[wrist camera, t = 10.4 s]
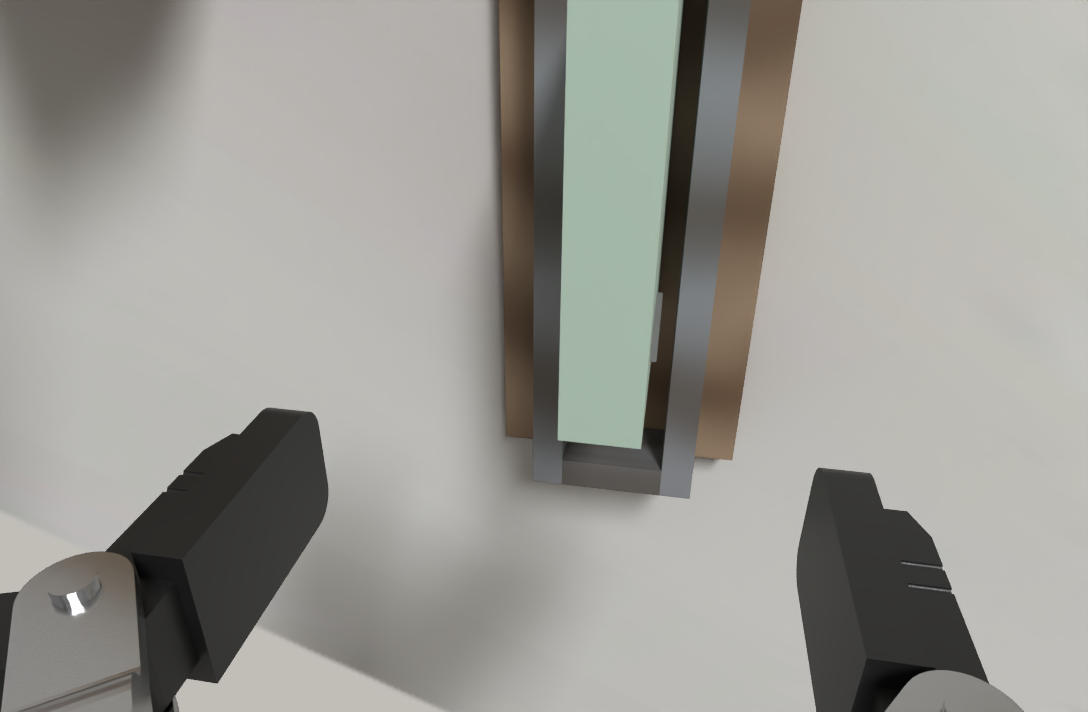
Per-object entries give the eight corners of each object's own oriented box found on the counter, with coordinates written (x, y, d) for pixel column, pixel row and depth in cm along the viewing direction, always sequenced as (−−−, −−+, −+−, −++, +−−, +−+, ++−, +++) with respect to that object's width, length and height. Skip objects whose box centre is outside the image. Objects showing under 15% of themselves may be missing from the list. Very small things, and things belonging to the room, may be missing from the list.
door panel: (612, -34, 25) (568, -22, 17) (692, -33, 25) (690, -20, 16) (596, 300, 31) (557, 440, 22) (662, 306, 31) (647, 450, 22)
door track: (506, -212, 25) (470, -240, 21) (829, -218, 23) (855, -250, 19) (513, 418, 36) (490, 475, 32) (730, 440, 35) (734, 504, 31)
